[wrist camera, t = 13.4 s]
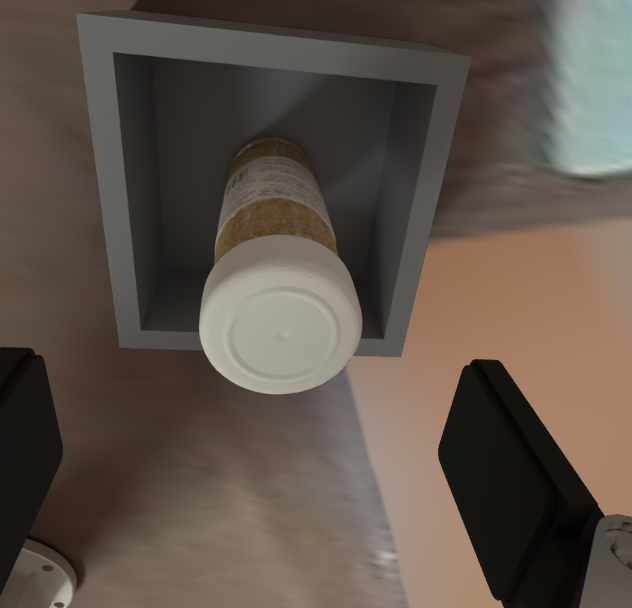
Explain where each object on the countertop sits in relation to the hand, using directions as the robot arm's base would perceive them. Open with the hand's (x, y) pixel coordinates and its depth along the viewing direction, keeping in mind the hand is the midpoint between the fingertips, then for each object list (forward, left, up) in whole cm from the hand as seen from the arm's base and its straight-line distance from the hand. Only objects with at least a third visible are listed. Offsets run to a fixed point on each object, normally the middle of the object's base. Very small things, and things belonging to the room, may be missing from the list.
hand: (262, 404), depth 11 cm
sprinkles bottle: (0, 0, -16) cm, 16 cm away
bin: (0, 0, -17) cm, 17 cm away
